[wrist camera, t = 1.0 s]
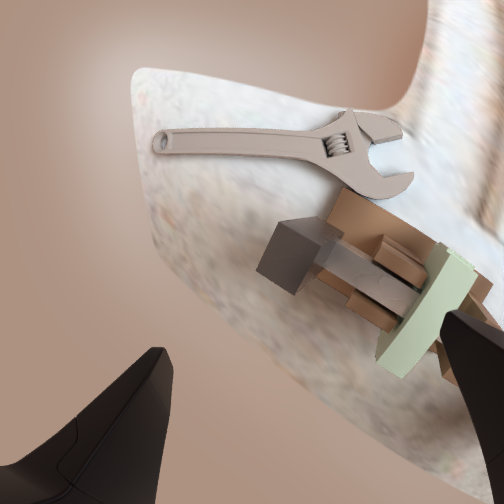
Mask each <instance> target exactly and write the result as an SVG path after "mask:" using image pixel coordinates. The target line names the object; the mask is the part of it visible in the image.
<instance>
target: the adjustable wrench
mask: <svg viewBox="0 0 504 504" xmlns="http://www.w3.org/2000/svg"><path fill="white" fill-rule="evenodd" d="M338 116H339V119H337V120H336V121H334V122H332V123H330V124H328V125H326V126H325V127H322V128H319V129H316V130H311V131H290V130H276V129H256V128H188V129H168V130H160V131H159V132H157V133H156V135H155V136H154V138H153V144H152V146H153V150H154V151H155V152H156V153H159V154H166V155H180V154H202V155H239V156H259V157H273V158H286V159H297V160H304V161H309V162H312V163H314V164H317V165H319V166H321V167H322V168H324V169H326V170H328V171H329V172H331V173H332V174H334V175H336V176H337V177H338V178H340V179H341V180H342V181H344V182H345V183H346V184H347V185H349V186H350V187H351V188H353V189H354V190H355V191H356V192H358V193H360V194H362V195H364V196H366V197H369V198H373V199H389V198H392V197H394V196H397V195H398V194H400V193H401V192H403V191H404V190H406V189H407V187H408V186H409V185H410V183H411V182H412V181H413V179H414V172H410V173H405V174H400V175H395V176H391V177H386V178H383V177H382V175H381V174H380V173H379V172H378V171H377V170H376V169H375V168H374V167H373V166H372V165H371V164H370V162H369V158H368V150H369V147H370V144H371V142H373V143H374V144H380V143H384V142H389V141H393V140H398V139H402V136H403V133H402V130H401V128H400V127H399V126H398V125H396V124H395V123H394V122H392V121H390V120H389V119H387V118H385V117H382V116H380V115H376V114H372V113H365V112H354V111H353V109H352V107H350V108H348V109H347V110H346V111H342V112H340V113H339V114H338ZM165 136H167V137H168V142H167V145H166V147H165V148H164V150H163V148H162V142H163V139H164V138H165ZM344 139H346V141H344ZM324 142H326V145H327V146H328V147H327V150H329V152H328V153H329V155H331V156H333V157H329V158H328V154H327V151H326V147H325V144H324ZM345 144H347V146H346V145H345ZM347 149H348V150H349V151H347Z"/></svg>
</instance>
